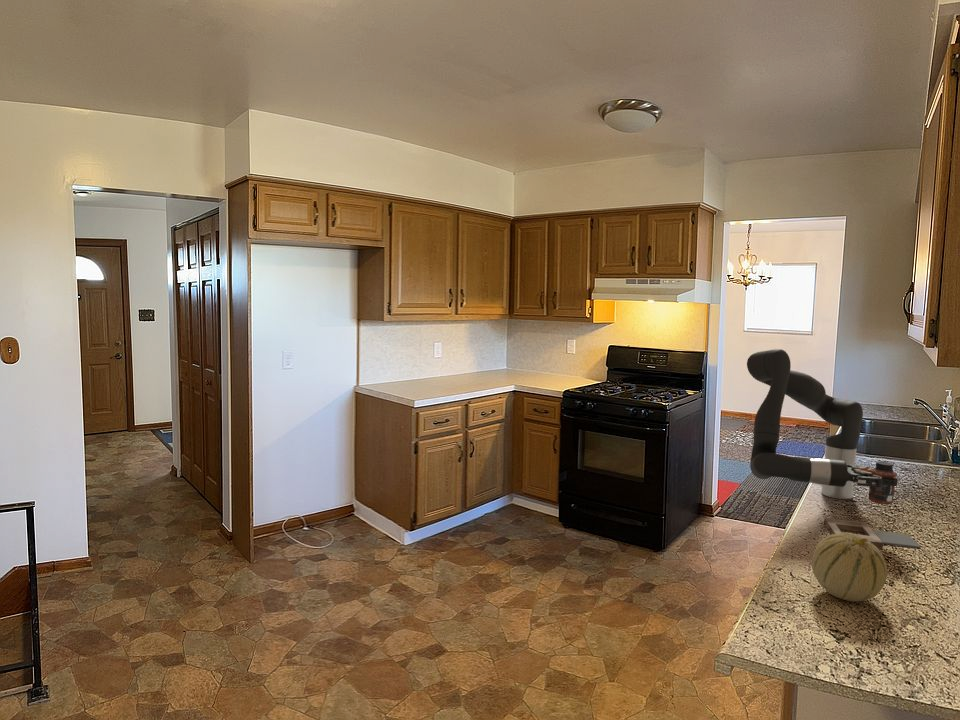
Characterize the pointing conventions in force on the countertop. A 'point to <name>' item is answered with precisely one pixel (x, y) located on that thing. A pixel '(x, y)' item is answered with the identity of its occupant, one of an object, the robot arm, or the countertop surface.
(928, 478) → the countertop surface
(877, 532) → the rubber mat
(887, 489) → the supplement bottle
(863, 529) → the walnut holder
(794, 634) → the countertop surface
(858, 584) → the cantaloupe
